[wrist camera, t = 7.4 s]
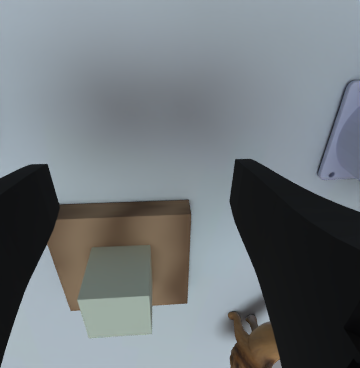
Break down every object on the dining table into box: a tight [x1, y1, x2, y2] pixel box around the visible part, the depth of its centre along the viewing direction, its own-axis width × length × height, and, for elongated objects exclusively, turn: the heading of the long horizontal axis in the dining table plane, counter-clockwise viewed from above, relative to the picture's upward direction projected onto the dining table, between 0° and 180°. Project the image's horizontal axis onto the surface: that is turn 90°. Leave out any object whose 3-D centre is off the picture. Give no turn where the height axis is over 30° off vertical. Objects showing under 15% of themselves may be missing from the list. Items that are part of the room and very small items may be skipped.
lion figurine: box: [228, 312, 280, 368], centre depth 29 cm, size 15×5×9 cm, turn 151°
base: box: [47, 200, 191, 311], centre depth 25 cm, size 12×12×2 cm
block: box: [77, 245, 152, 338], centre depth 22 cm, size 5×5×5 cm
